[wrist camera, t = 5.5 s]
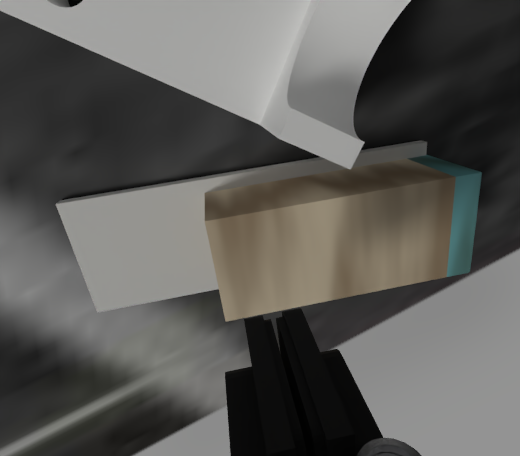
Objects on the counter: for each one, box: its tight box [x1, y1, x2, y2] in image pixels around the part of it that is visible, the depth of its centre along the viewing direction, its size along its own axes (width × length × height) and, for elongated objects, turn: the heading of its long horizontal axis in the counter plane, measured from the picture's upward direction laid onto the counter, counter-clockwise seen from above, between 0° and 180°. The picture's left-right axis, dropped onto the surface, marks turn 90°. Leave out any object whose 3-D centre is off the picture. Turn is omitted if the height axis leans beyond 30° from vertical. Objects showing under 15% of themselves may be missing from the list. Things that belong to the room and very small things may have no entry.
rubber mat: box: [56, 140, 427, 312], centre depth 19 cm, size 19×6×1 cm, turn 98°
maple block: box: [205, 155, 482, 321], centre depth 17 cm, size 4×5×12 cm
